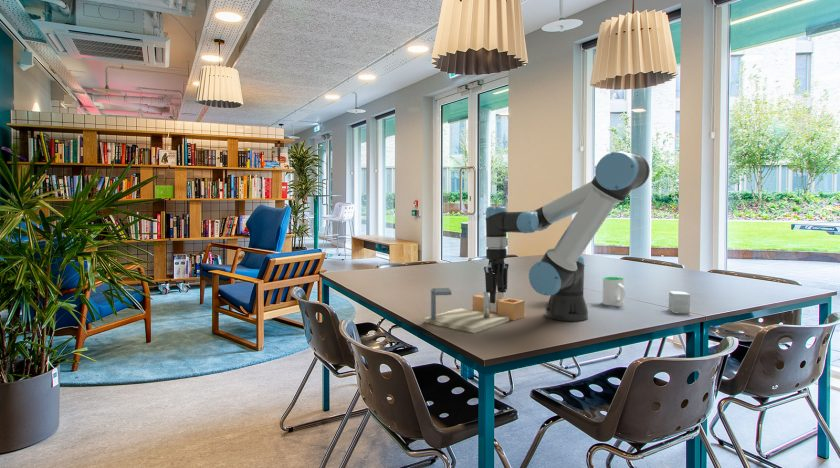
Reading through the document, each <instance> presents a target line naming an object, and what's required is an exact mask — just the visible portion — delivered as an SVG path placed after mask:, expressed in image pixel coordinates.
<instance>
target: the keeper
mask: <svg viewBox="0 0 840 468" xmlns="http://www.w3.org/2000/svg"><path fill="white" fill-rule="evenodd" d="M437 296H452V290H451V288H450V287H433V288H430V316H431V320H436V315H437V311H436V309H437V308H436V307H437V306H436V305H437V301H436V299H437Z"/></svg>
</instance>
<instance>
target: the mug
mask: <svg viewBox="0 0 840 468" xmlns="http://www.w3.org/2000/svg"><path fill="white" fill-rule="evenodd" d="M625 297H626V290H625V278H623V277H617V276H604V277H602V304H604V305H606V306H617V307H618V306H623V305H624V301H625Z"/></svg>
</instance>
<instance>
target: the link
mask: <svg viewBox="0 0 840 468" xmlns="http://www.w3.org/2000/svg"><path fill="white" fill-rule="evenodd" d="M472 310H473V311H479V312H484V294H482V295H481V294H476V295H472ZM497 310H498V312H494V311H490V314H496V315H501V316H507V317H509V321H517V320H519V319H522V318H524V317H525V300H521V299H516V298H509V297H508V298H504V299H503V298H497Z"/></svg>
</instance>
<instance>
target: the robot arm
mask: <svg viewBox="0 0 840 468" xmlns="http://www.w3.org/2000/svg"><path fill="white" fill-rule="evenodd" d="M594 172H595V173H594V174H595V176H594V177H593V179H592V180H591V181H589V182H587V183H585V184H584V185H581V186H580V187H577V188H576V189H573V190H571V191H570V192H567V193H566V194H564V195H562V196H560V197H558V198H556V199H554V200H552V201H551V202H548V203H546V204H544V205H543V206H541V207H539V208H536V209H534V210H529V211H526V210H525V211H508V210H507V208H506V206H488V207H487V208H486V210H485V233H486V234H485V235H486V236H485V240H486V243H485V246H486V251H485V256H486V259H487V260H488V263H487V266H484V267H483V270H484V276H485V279H484V281H485V292H490V311H494V312H498V310H497V298H503V299H505V298H504V293H507V290H508V275H509V274H508V270H509V266H510V265H509V263H505V259H507V256H508V255H507V253H508V251H507V249H506V247H507V246H508V243H507V233H517V234H518V233H520V234H521V233H522V234H531V233H535V232H541V231H544V230H547V229H548V228H549V227H550V226H551V225H553V224H556V223H558V222H559V221H561V220H562V221H563V219H566V218H568V217H570V216H572V215H574V214H575V216H574V217H573V218H572V220H571V222H570V223H569V225H568V226H567V228H566V229H565V231H563V233H562V235H561V237H560V239H559V240H558V241H557V243H556V244H555V246H554V248H550V249H547V250H546V251H545V253H544V255H543V256H542V257H541V259H540V261H538V262H536V263H534V264H533V265H532V266H531V268H530V269H529V272H528V279H529V285H530V286H531V288H532V289H533V290H534V291H535V292H536V293H538V294H540V295H542V296H549V299H548V301H547V305H546V307H545V312H544V313H545V317H547V318H549V319H552V320H556V321H563V322H564V321H565V322H580V321H585V320H588V318H589V311H588V306H587V304H586V300H585V297H584V288H585V287H584V284H585V283H584V281H585V259H584V257H583V255H582V254H583V253H584V251H586V248H587V247H588V245H589V244H590V242H591V241H592V240H593V238H594V237H595V236H596V234H597V232H598V231H599V229H601V226H602V225H603V224H604V222H605V221H606V219H607V218H608V216H609V215H610V213H611V211H612V210H613V209H614V208H615V206H616V204H620V203H623V202H624V201H625V200H626V198H627V197H628V196H629V194H630V193H631V191H633V190H637V189H639V188H641V187H642V186H644V184H645V183H646V182H647V181H648V179H649V177H650V164H649V162H648V161H647V159H646V158H644V157H643V156H642V155H640V154H637V153H633V152H632V153H631V152H628V151H624V150H623V151H622V150H618V151H612V152H609V153H607V154H605V155H604V156H602V158H600V160H599V161H598V162H597V164H596V166H595V171H594Z"/></svg>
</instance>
